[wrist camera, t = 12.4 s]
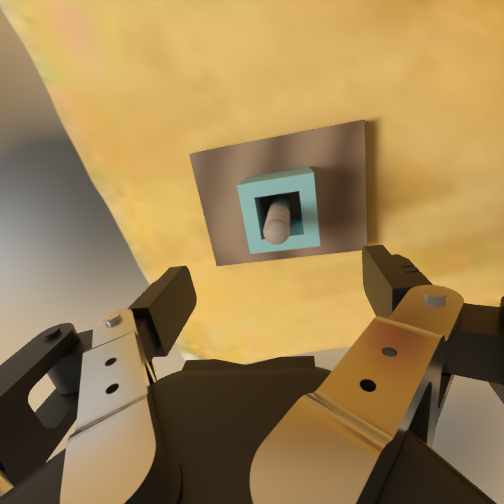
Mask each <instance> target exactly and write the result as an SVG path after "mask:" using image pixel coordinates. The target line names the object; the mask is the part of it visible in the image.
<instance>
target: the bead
mask: <svg viewBox="0 0 504 504" xmlns="http://www.w3.org/2000/svg"><path fill="white" fill-rule="evenodd" d="M237 189H238V194H239V199H240V204H241V209H242V214H243V220H244V225H245V230H246V235H247V240H248V246H249V251H250V254H256V253H264V252H273V251H282V250H291V249H299V248H308V247H317V246H320V237H319V226H318V215H317V203H316V192H315V181H314V172H313V171H312V169H311V168H310V167H303V168H297V169H291V170H285V171H280V172H274V173H268V174H262V175H256V176H250V177H246V178H245V179H243V180H242V181H241V182H240V183H239V184H238V185H237ZM295 191H299V198H300V207H301V216H302V218H300V219H292V220H290V235H289V237H288V239H287V240H286V241H285V242H284V243H282V244H280V245H273V244H271V243H269V242H268V241H267V240H266V239H265V237H264V234H263V229H264V225H265V222H266V219H265V213H264V207H263V201H262V197H263V196H269V195H276V194H282V193H289V192H295Z"/></svg>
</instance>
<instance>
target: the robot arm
mask: <svg viewBox="0 0 504 504" xmlns="http://www.w3.org/2000/svg"><path fill="white" fill-rule="evenodd" d="M362 263H363V285H364V290H365V293H366V296H367V298H368V300H369V302H370V304H371V306H372V308H373V311H374V313H375V315H376V317H375V318H374V319H373V321H372V322H371V323H370V324H369V326H368V327H367V328H366V329H365V331H364V332H363V333H362V334H361V336H360V337H359V338H358V339H357V341H356V342H355V343H354V344H353V346H352V347H351V348H350V349H349V351H348V352H347V353H346V355H345V356H344V357H343V358H342V359H341V361H340V362H339V363H338V364H337V366H336V367H335V368H334V370H333V371H330V370H327V369H324V368H320V367H315V361H314V356H298V357H297V356H296V357H278V358H274V359H270V360H265V361H261V362H257V363H253V364H248V365H243V364H237V363H232V362H227V361H222V360H217V359H210V360H186V362H185V364H184V367H183V369H182V371H178V372H176V373H173V374H170V375H168V376H165V377H163V378H161V379H159V380H158V377H157V374H156V370H155V367H154V364H153V362H152V359H153V357H164V356H167V355H168V353H169V351H170V350H171V348H172V346H173V345H174V343H175V341H176V339H177V338H178V336H179V334H180V332H181V331H182V329H183V327H184V325H185V324H186V322H187V320H188V319H189V317H190V315H191V313H192V312H193V310H194V308H195V306H196V301H197V298H196V292H195V289H194V286H193V282H192V279H191V275H190V272H189V269H188V268H187V267H186V266H178V267H170V268H169V269H168V270H167V271H166V272H165V273H164V274H163V275H162V276H161V277H160V278H159V279H158V280H157V281H155V282H154V283H152V284H151V285H150V286H149V287H148V288H147V289H146V291H144V292H143V293H142V294H141V296H139V297H138V298H137V299H136V301H135V302H134V303H133V304H132V305H131V306H130V307H129V308H128V309H119V310H116V311H113V312H110V313H108V314H106V315H105V316H103V317H101V318H100V319H99V320H97V321H96V323H95V324H94V326H93V329H92V330H89V331H85V332H81V333H77V332H76V330H75V328H74V326H73V324H71V323H64V324H59V325H56V326H54V327H51V328H49V329H47V330H45V331H43V332H42V333H40V334H39V335H37V336H36V337H35V338H33V339H32V340H31V341H30V342H29V343H27V344H26V345H25V346H24V347H22V348H21V349H20V350H19V351H18V352H16V353H15V354H14V355H13V356H11V357H10V358H9V359H8V360H6V361H5V362H4V363H3V364H2V365H0V504H496V503H495V502H494V501H493V500H492V499H491V498H489V497H488V496H487V495H486V494H484V493H483V492H482V491H481V490H480V489H479V488H478V487H476V486H475V485H474V484H473V483H472V482H470V481H469V480H468V479H467V478H466V477H465V476H463V475H462V474H461V473H460V472H459V471H457V470H456V469H455V468H454V467H453V466H451V465H450V464H449V463H448V462H447V461H446V460H444V459H443V458H442V457H441V456H439V454H437V453H436V452H435V451H434V450H433V449H431V448H432V444H433V440H434V436H435V431H436V426H437V423H438V420H439V417H440V414H441V411H442V409H443V406H444V403H445V400H446V398H447V395H448V392H449V389H450V387H451V384H452V381H453V378H454V375H458V376H463V377H468V378H472V379H477V380H483V381H487V382H489V384H490V385H491V387H492V388H493V390H494V391H495V392H496V394H497V395H498V397H499V398H500V399H501V401H502V402H503V404H504V296H503V297H502V299H501V303H500V307H493V306H482V305H473V304H467V303H464V299H463V297H462V296H461V295H460V294H459V293H457V292H456V291H454V290H452V289H449V288H446V287H442V286H437V285H433V284H432V283H431V282H430V281H429V280H428V279H427V278H426V277H425V276H424V275H423V274H422V273H421V272H419V270H418V269H417V268H416V267H414V265H413V263H412V262H411V261H410V260H409V259H407V258H405V257H402V256H400V255H398V254H396V255H391V254H390V253H389V252H388V251H387V249H386V248H385V247H384V246H383V245H374V246H364V247H363V249H362ZM46 373H47V374H48V375H49V377H50V379H51V380H52V382H53V384H54V385H55V387H56V389H55V390H54V391H53V392H52V393H51V395H50V396H49V397H48V398H47V399H46V400H45V402H44V403H43V404H42V405H41V406H40V407H39V408H38V409H37V411H36V412H35V413H34V411H33V410H32V408H31V407H30V405H29V404H28V395H29V392H30V390H31V389H32V388H33V386H34V385H35V384H36V383H37V382H38V381H39V380H40V379H41V378H42V377H43V376H44V375H45V374H46ZM76 419H77V423H76V430H75V432H74V433H73V434H72V435H70V436H69V438H68V441H67V445H66V448H65V449H64V450H62V451H61V452H60V453H58V454H57V455H56V456H54V457H53V458H52V459H50V460H49V461H48V462H46V461H47V460H48V458H49V457H50V455H51V454H52V453H53V451H54V450H55V448H56V447H57V446H58V444H59V443H60V442H61V440H62V439H63V437H64V436H65V434H66V433H67V432H68V430H69V429H70V427H71V426H72V425H73V423H74V422H75V420H76Z"/></svg>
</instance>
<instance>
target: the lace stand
mask: <svg viewBox="0 0 504 504" xmlns="http://www.w3.org/2000/svg"><path fill="white" fill-rule="evenodd" d="M189 156H190V160H191V164H192V168H193V172H194V176H195V180H196V184H197V188H198V192H199V196H200V200H201V204H202V208H203V212H204V216H205V220H206V224H207V228H208V233H209V237H210V241H211V245H212V249H213V253H214V257H215V261H216V265H217V266H223V265H232V264H241V263H250V262H259V261H268V260H277V259H286V258H295V257H305V256H314V255H323V254H332V253H341V252H350V251H359V250H362V249H363V247H364V246H367V205H366V160H365V120H360V121H355V122H350V123H345V124H340V125H335V126H330V127H325V128H319V129H314V130H309V131H304V132H299V133H294V134H289V135H284V136H278V137H273V138H268V139H263V140H258V141H253V142H248V143H243V144H238V145H232V146H227V147H222V148H217V149H212V150H207V151H202V152H197V153H191V154H189ZM303 167H310V168H311V169H312V171H313V172H314V181H315V192H316V203H317V215H318V226H319V237H320V246H317V247H308V248H299V249H291V250H282V251H273V252H264V253H256V254H250V251H249V246H248V240H247V235H246V230H245V225H244V220H243V214H242V209H241V204H240V199H239V194H238V189H237V185H238V184H239V183H240V182H241V181H242V180H243V179H245V178H246V177H250V176H256V175H262V174H268V173H274V172H280V171H285V170H291V169H297V168H303ZM262 201H263V207H264V213H265V219H266V222H265V225H264V229H263V234H264V237H265V239H266V240H267V241H268V242H269V243H271V244H273V245H280V244H282V243H284V242H285V241H286V240H287V239H288V237H289V235H290V220H292V219H300V218H302V216H301V207H300V198H299V191H295V192H289V193H282V194H276V195H269V196H263V197H262Z"/></svg>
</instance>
